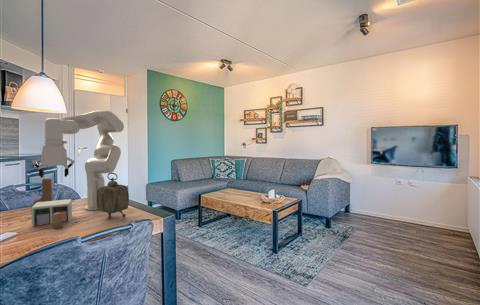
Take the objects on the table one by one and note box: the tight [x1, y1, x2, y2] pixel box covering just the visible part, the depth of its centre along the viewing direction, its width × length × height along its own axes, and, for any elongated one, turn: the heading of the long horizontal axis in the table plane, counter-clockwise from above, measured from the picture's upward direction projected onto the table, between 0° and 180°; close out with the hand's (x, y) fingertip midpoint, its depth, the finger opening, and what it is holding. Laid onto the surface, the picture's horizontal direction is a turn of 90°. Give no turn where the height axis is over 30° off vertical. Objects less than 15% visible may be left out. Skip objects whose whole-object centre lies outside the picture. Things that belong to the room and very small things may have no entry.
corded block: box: [52, 209, 68, 230], centre depth 122 cm, size 5×17×7 cm, turn 31°
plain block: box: [36, 212, 51, 226], centre depth 124 cm, size 5×5×5 cm
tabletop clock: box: [97, 172, 130, 220], centre depth 132 cm, size 14×9×25 cm, turn 71°
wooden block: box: [33, 177, 54, 206], centre depth 156 cm, size 9×4×18 cm, turn 120°
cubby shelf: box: [31, 198, 73, 228], centre depth 127 cm, size 15×12×10 cm
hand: (54, 176), depth 121 cm, fingers open, 9 cm apart
